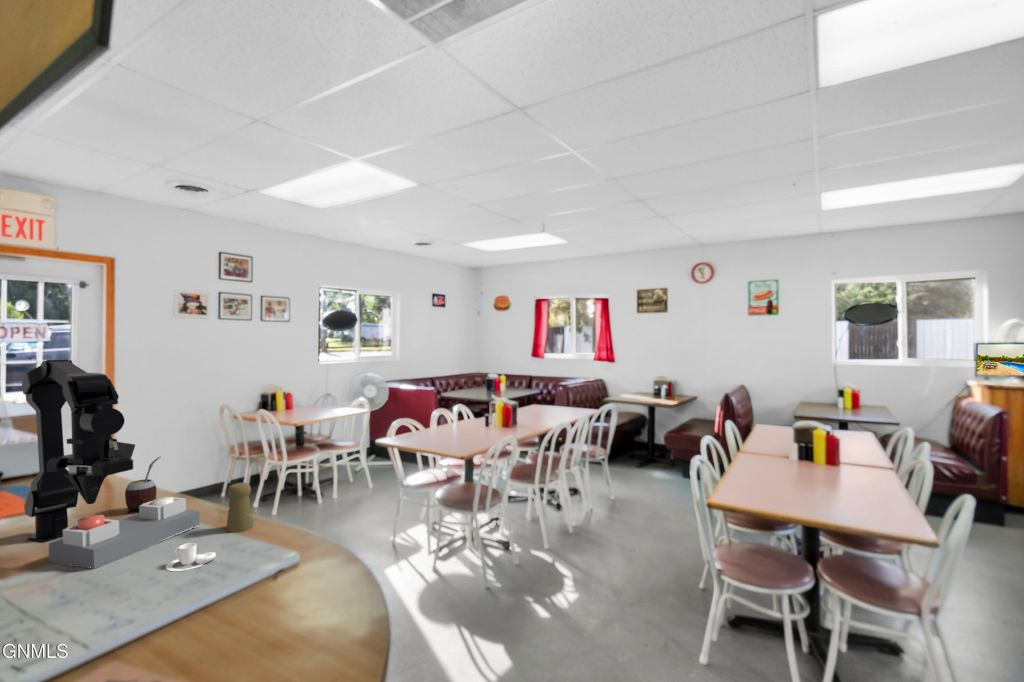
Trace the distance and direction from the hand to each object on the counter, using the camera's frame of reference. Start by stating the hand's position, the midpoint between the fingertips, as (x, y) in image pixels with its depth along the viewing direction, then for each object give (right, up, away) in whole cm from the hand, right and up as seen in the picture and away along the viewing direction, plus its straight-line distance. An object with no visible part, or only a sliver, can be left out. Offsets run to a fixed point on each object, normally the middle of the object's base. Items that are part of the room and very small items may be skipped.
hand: (91, 503), depth 108 cm
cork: (+24, -11, +15) cm, 31 cm away
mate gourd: (-12, -12, +31) cm, 36 cm away
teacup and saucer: (+26, -12, -6) cm, 29 cm away
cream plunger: (+5, -7, +15) cm, 18 cm away
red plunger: (0, -6, 0) cm, 6 cm away
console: (+3, -12, +8) cm, 14 cm away
